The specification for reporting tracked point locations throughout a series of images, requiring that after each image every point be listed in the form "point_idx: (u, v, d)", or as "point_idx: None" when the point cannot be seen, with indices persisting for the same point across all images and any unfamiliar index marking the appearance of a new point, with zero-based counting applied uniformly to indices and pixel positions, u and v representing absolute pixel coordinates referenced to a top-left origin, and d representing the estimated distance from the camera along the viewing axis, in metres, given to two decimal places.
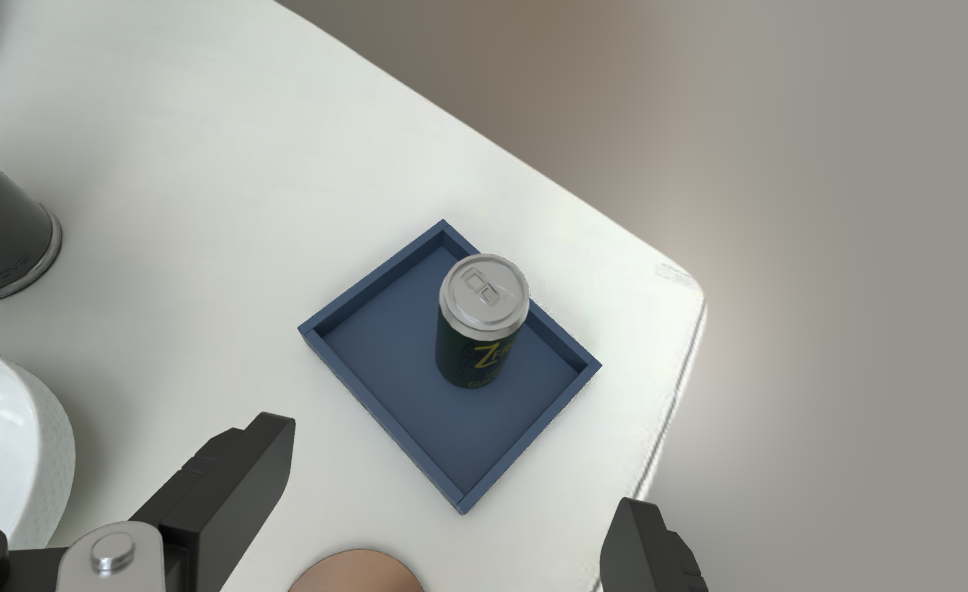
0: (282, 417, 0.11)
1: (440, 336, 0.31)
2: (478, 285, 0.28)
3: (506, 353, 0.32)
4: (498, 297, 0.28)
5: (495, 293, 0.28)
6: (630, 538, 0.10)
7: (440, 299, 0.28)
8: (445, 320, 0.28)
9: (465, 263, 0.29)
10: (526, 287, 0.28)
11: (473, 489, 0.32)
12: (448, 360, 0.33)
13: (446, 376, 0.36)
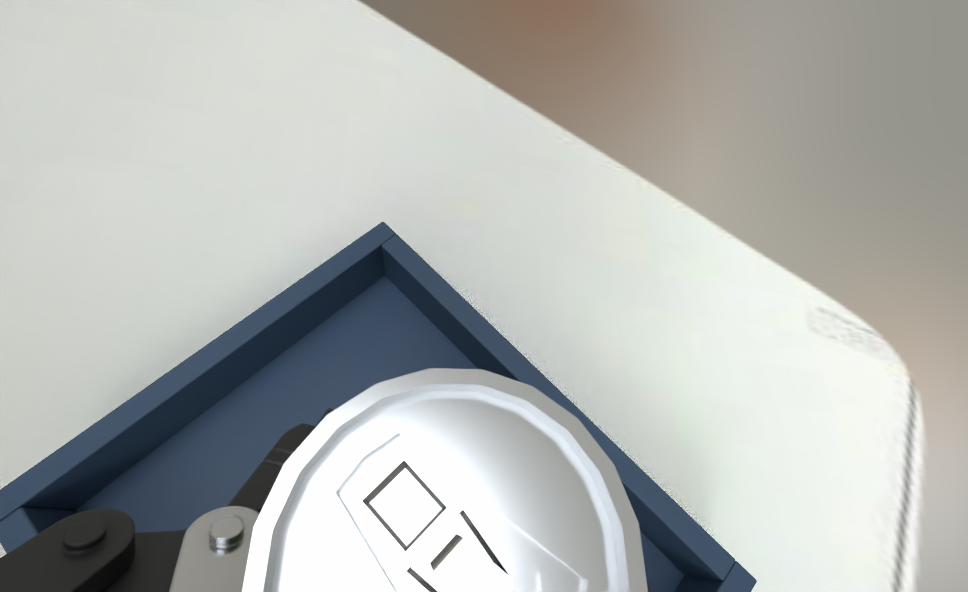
0: None
1: None
2: (416, 525, 0.06)
3: None
4: (507, 588, 0.06)
5: (496, 565, 0.06)
6: None
7: None
8: None
9: (366, 413, 0.07)
10: (631, 530, 0.06)
11: None
12: None
13: None
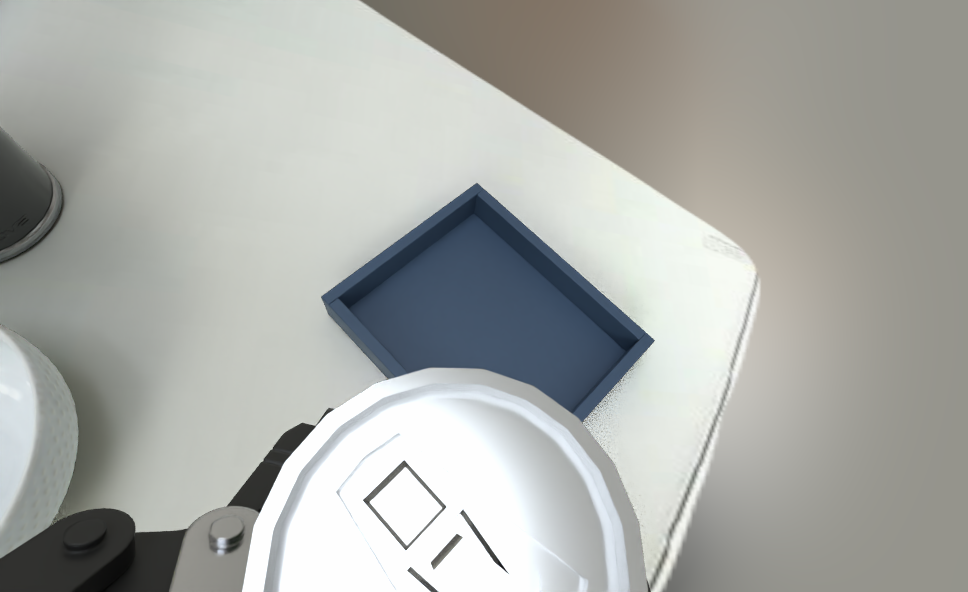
0: None
1: None
2: (417, 524, 0.06)
3: None
4: (508, 588, 0.06)
5: (497, 563, 0.06)
6: None
7: None
8: None
9: (366, 412, 0.07)
10: (632, 529, 0.06)
11: None
12: None
13: None
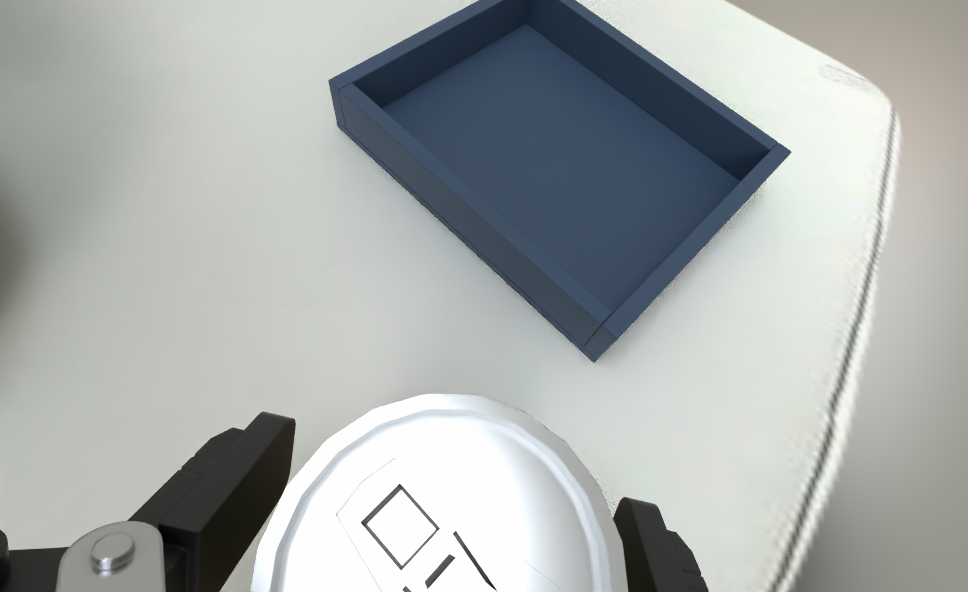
0: (282, 417, 0.11)
1: None
2: (411, 545, 0.07)
3: None
4: None
5: (487, 583, 0.07)
6: (630, 538, 0.10)
7: None
8: None
9: (364, 437, 0.07)
10: (615, 550, 0.07)
11: (625, 303, 0.19)
12: None
13: None
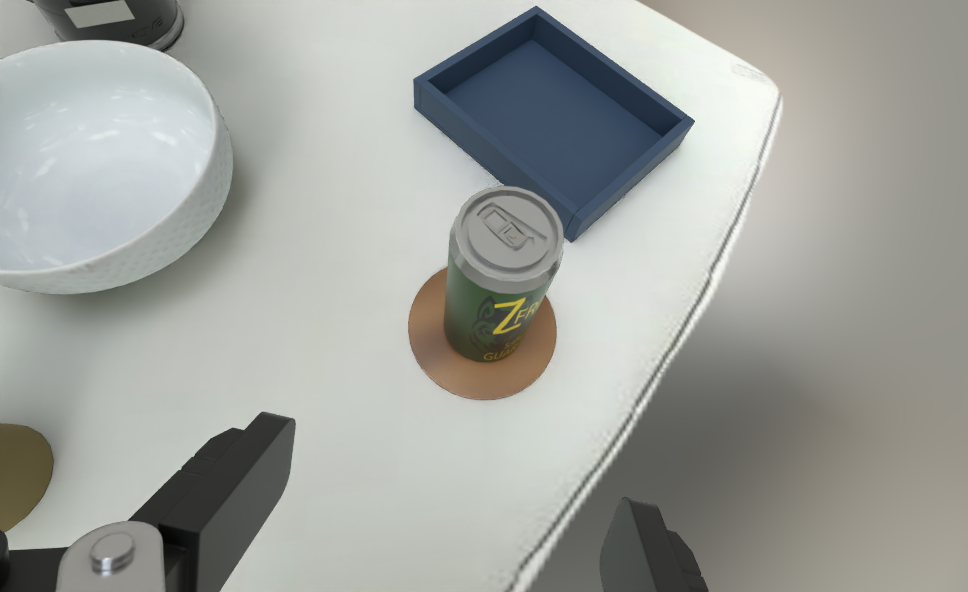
0: (282, 417, 0.11)
1: (450, 294, 0.25)
2: (498, 225, 0.22)
3: (531, 315, 0.26)
4: (524, 240, 0.22)
5: (521, 235, 0.22)
6: (630, 538, 0.10)
7: (451, 242, 0.22)
8: (458, 268, 0.22)
9: (481, 198, 0.23)
10: (560, 227, 0.22)
11: (587, 204, 0.35)
12: (460, 325, 0.27)
13: (457, 347, 0.30)
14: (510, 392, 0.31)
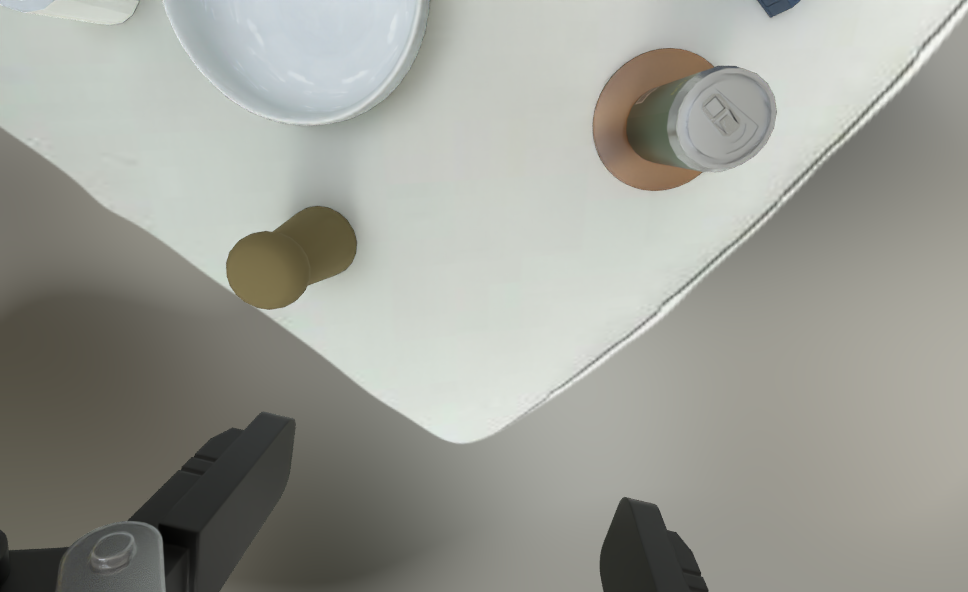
0: (282, 417, 0.11)
1: (651, 140, 0.30)
2: (716, 112, 0.25)
3: None
4: (737, 127, 0.25)
5: (735, 121, 0.25)
6: (630, 538, 0.10)
7: (668, 125, 0.26)
8: (671, 148, 0.27)
9: (705, 81, 0.25)
10: (774, 114, 0.25)
11: None
12: (651, 154, 0.32)
13: (638, 153, 0.36)
14: (676, 185, 0.38)
